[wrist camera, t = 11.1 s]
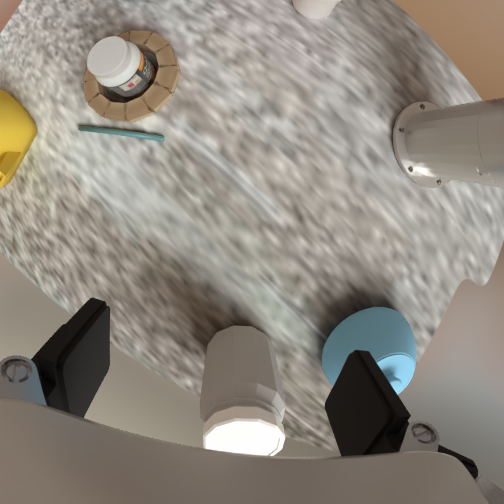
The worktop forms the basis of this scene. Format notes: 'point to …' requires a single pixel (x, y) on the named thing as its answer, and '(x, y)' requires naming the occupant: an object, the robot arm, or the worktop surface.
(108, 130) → the green stick
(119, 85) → the pill bottle
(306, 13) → the cup
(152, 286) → the worktop surface
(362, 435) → the robot arm
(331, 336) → the sugar bowl
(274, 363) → the jar
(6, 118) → the teapot
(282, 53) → the worktop surface
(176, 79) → the segmented tan ring
